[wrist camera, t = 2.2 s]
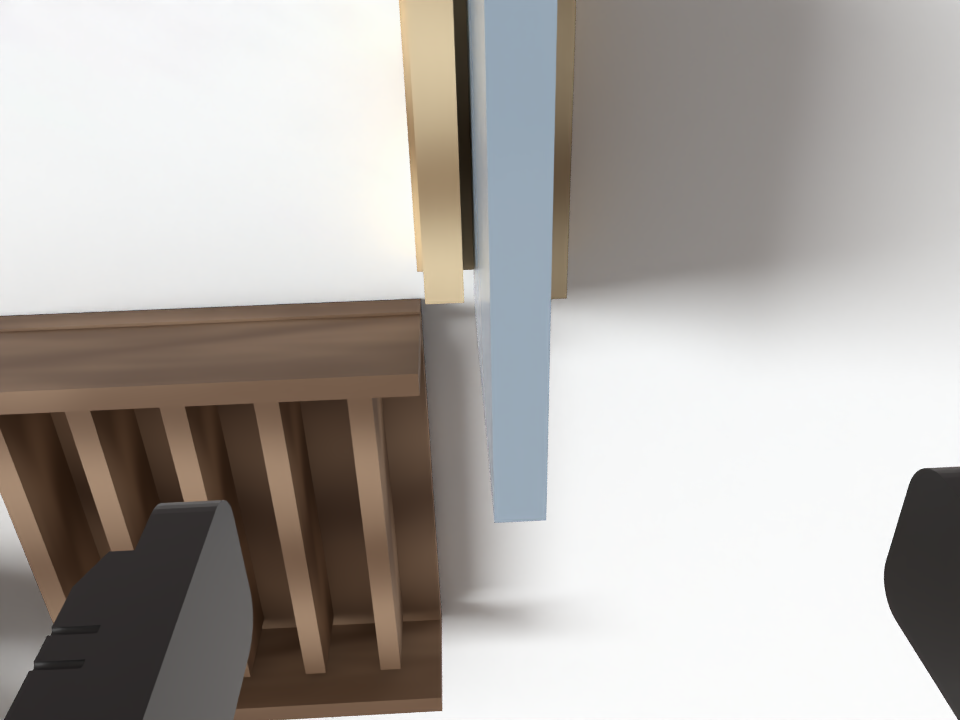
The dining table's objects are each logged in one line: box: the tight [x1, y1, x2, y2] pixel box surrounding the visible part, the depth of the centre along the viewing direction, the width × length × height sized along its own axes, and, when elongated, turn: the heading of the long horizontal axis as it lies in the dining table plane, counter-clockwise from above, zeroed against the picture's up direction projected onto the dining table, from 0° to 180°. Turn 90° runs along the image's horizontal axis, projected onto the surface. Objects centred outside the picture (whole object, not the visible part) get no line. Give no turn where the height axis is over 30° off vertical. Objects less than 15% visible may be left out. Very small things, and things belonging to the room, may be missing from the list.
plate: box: [466, 0, 557, 523], centre depth 21 cm, size 12×1×11 cm, turn 1°
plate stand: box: [399, 0, 576, 304], centre depth 25 cm, size 9×5×4 cm, turn 1°
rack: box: [0, 299, 442, 720], centre depth 31 cm, size 16×16×5 cm
